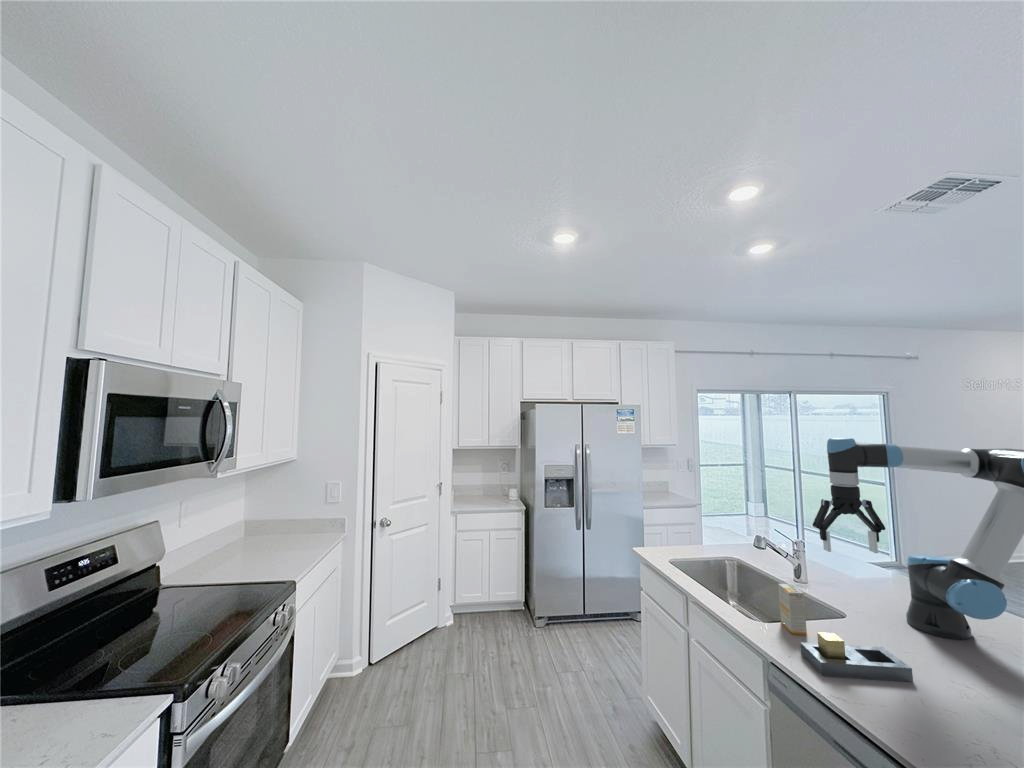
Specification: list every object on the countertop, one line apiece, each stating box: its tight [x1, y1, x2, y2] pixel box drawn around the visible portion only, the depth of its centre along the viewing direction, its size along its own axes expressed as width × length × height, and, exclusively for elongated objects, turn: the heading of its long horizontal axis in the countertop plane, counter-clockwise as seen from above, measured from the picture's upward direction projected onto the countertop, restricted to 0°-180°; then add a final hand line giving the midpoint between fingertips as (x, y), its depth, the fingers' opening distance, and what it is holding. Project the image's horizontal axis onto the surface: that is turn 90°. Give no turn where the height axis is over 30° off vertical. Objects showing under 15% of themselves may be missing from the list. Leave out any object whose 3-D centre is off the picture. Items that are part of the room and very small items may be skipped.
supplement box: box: [777, 583, 808, 636], centre depth 139 cm, size 8×5×13 cm, turn 168°
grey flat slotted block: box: [799, 641, 914, 683], centre depth 117 cm, size 22×10×4 cm, turn 81°
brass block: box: [816, 631, 846, 660], centre depth 118 cm, size 4×4×8 cm
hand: (850, 551), depth 135 cm, fingers open, 13 cm apart
